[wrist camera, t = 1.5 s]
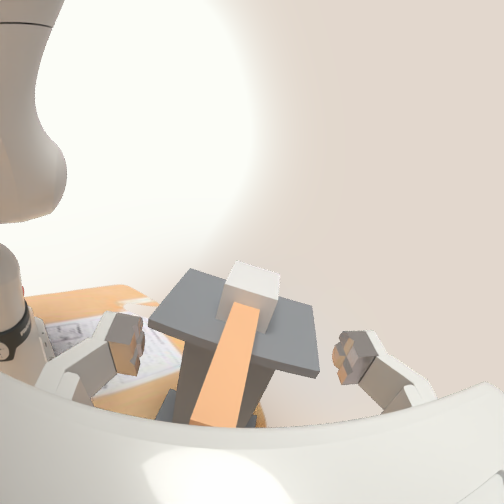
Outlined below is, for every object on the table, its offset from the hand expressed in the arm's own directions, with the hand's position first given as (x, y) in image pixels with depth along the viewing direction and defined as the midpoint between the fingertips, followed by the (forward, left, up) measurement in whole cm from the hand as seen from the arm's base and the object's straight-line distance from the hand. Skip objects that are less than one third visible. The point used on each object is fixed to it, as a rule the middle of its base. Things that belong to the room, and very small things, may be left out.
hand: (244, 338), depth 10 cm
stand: (-11, +11, -35) cm, 38 cm away
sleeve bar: (-7, +7, -9) cm, 13 cm away
